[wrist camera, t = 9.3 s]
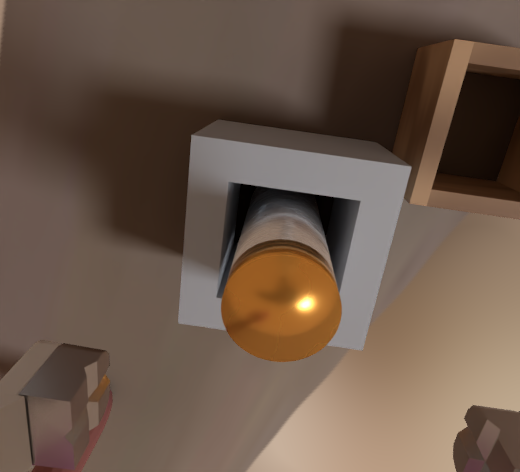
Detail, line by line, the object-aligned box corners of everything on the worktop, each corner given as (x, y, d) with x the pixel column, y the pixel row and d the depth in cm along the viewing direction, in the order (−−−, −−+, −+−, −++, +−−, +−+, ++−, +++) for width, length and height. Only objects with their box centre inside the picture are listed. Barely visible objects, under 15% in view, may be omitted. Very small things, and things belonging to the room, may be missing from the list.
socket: (218, 119, 23) (191, 134, 17) (376, 142, 23) (411, 166, 17) (204, 263, 26) (178, 323, 20) (343, 283, 26) (362, 350, 20)
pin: (254, 169, 24) (227, 248, 13) (322, 179, 24) (353, 266, 13) (246, 233, 26) (215, 352, 14) (310, 242, 26) (329, 369, 14)
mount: (417, 47, 21) (454, 39, 17) (552, 67, 21) (627, 63, 17) (385, 179, 24) (409, 203, 19) (505, 196, 24) (558, 225, 19)
